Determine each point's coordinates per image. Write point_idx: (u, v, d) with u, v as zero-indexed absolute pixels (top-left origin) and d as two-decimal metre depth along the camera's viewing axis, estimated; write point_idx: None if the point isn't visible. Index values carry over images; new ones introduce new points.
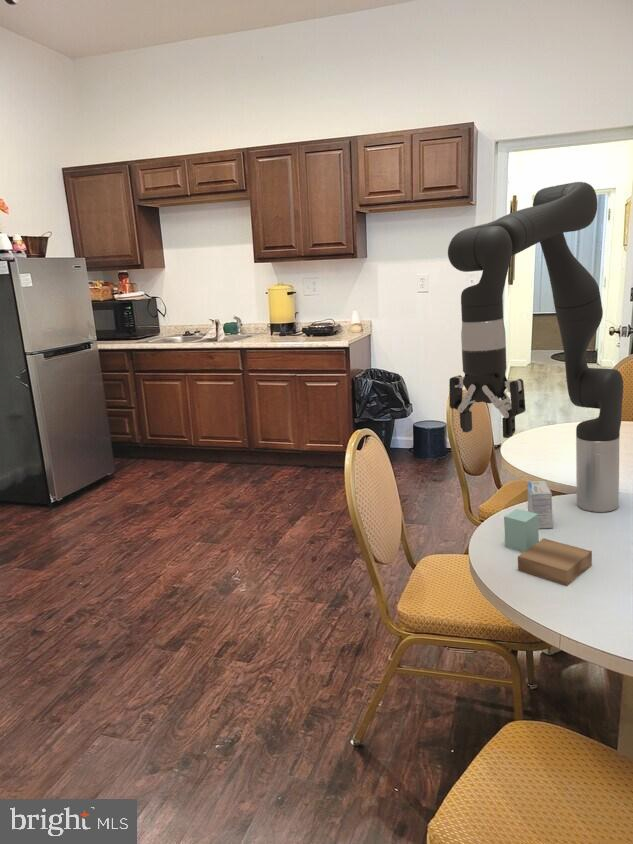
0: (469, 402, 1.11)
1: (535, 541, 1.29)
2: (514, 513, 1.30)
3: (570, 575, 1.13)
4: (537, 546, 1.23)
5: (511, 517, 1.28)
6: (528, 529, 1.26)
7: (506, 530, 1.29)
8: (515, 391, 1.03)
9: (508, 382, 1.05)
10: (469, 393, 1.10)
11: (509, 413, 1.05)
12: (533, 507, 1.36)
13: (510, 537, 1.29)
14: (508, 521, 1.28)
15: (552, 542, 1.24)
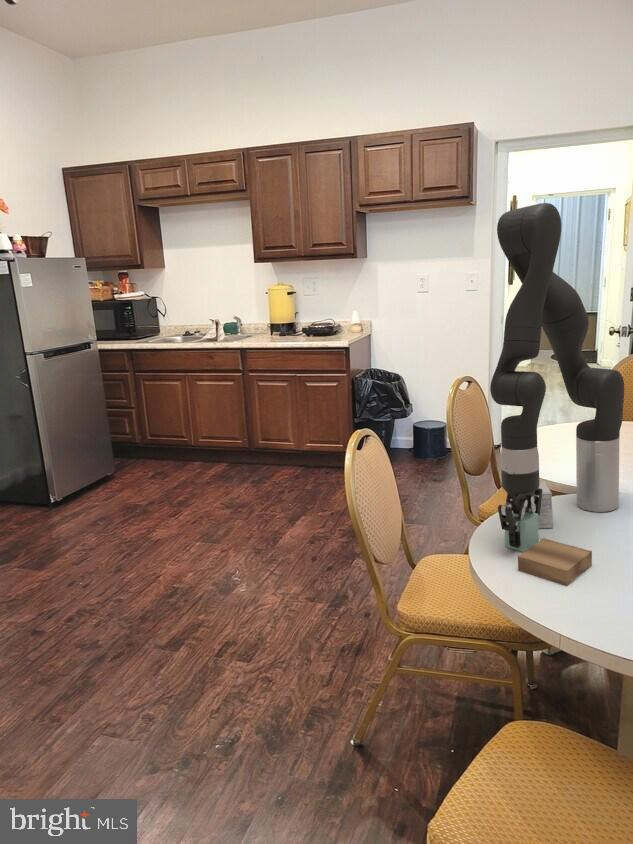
0: None
1: (535, 541, 1.29)
2: (514, 513, 1.30)
3: (570, 575, 1.13)
4: (537, 546, 1.23)
5: None
6: (528, 528, 1.26)
7: (506, 530, 1.29)
8: (541, 496, 1.31)
9: None
10: (523, 509, 1.26)
11: None
12: None
13: None
14: None
15: (552, 542, 1.24)
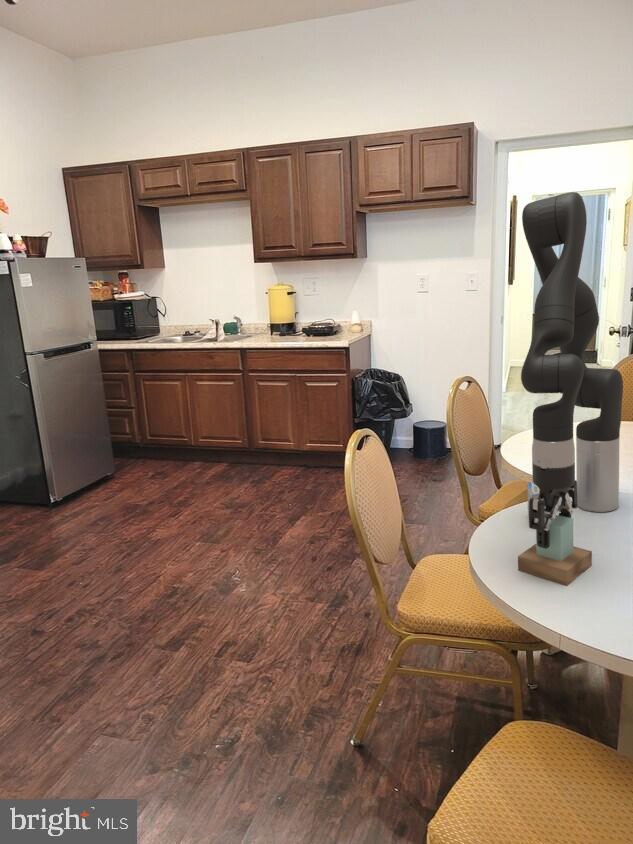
0: None
1: (570, 548, 1.18)
2: None
3: (570, 575, 1.13)
4: None
5: (544, 522, 1.17)
6: (563, 535, 1.15)
7: None
8: (576, 487, 1.20)
9: None
10: (556, 507, 1.14)
11: None
12: None
13: None
14: None
15: None
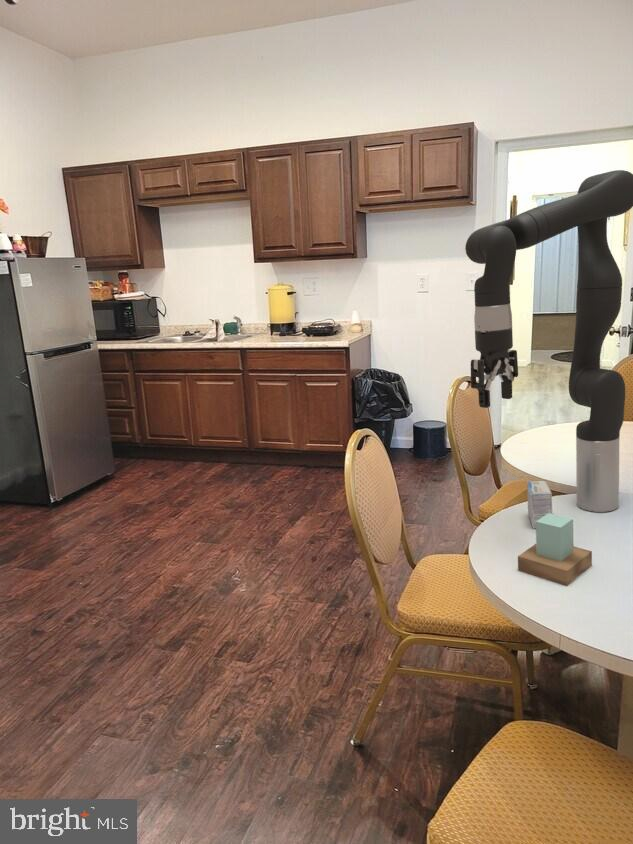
0: None
1: (570, 548, 1.18)
2: (547, 518, 1.19)
3: (570, 575, 1.13)
4: None
5: (544, 522, 1.17)
6: (563, 535, 1.15)
7: (538, 536, 1.18)
8: (516, 357, 1.32)
9: (509, 352, 1.31)
10: (495, 369, 1.26)
11: (512, 377, 1.32)
12: (533, 507, 1.36)
13: (542, 544, 1.18)
14: (540, 526, 1.17)
15: None
